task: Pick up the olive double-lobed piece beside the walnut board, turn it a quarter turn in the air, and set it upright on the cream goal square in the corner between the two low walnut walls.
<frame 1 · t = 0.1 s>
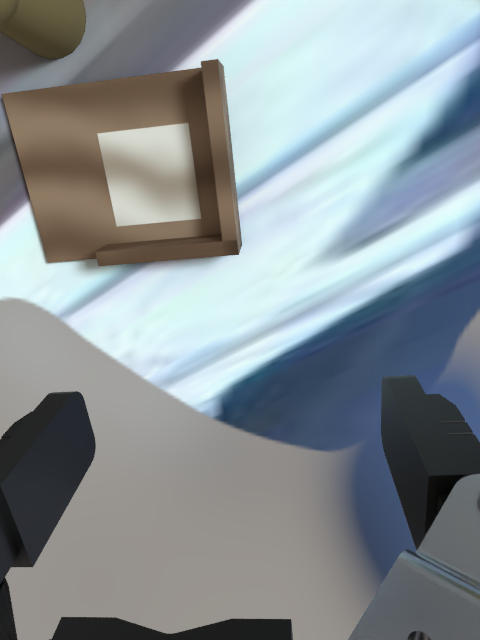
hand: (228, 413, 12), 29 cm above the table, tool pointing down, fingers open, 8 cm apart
olive double-lobed piece: (48, 14, 34), on the table
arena: (128, 172, 38), on the table
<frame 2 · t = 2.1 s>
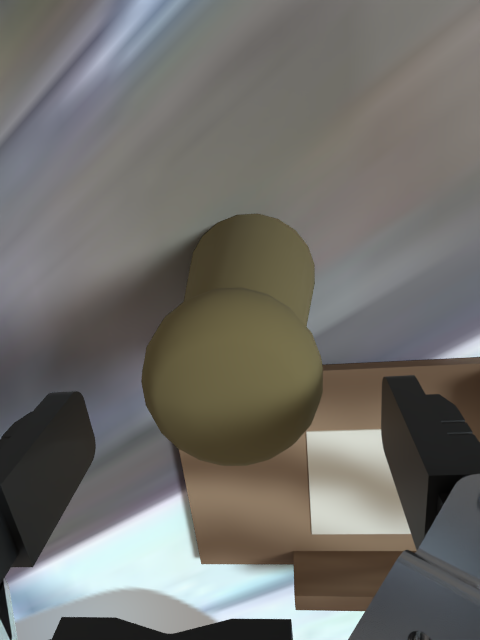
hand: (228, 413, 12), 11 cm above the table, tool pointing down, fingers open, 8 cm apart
olive double-lobed piece: (251, 275, 22), on the table
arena: (339, 470, 26), on the table
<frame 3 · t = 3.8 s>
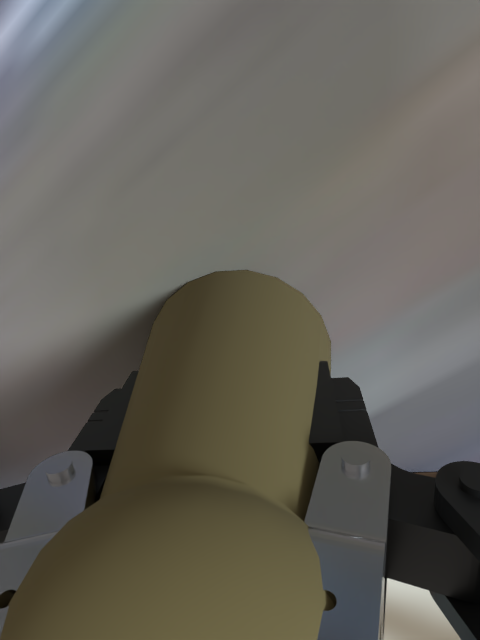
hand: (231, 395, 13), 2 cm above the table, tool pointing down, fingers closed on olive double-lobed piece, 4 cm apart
olive double-lobed piece: (239, 354, 15), on the table, touching gripper
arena: (362, 604, 19), on the table
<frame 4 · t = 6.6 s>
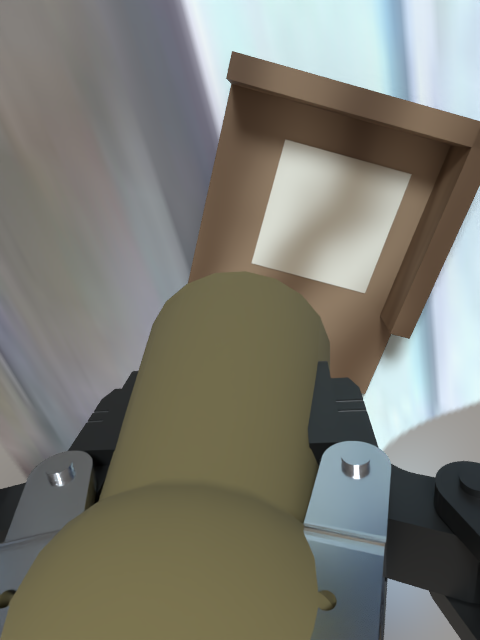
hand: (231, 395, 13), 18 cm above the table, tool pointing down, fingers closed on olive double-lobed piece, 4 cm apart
olive double-lobed piece: (238, 356, 15), point 15 cm above the table, touching gripper
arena: (308, 247, 29), on the table
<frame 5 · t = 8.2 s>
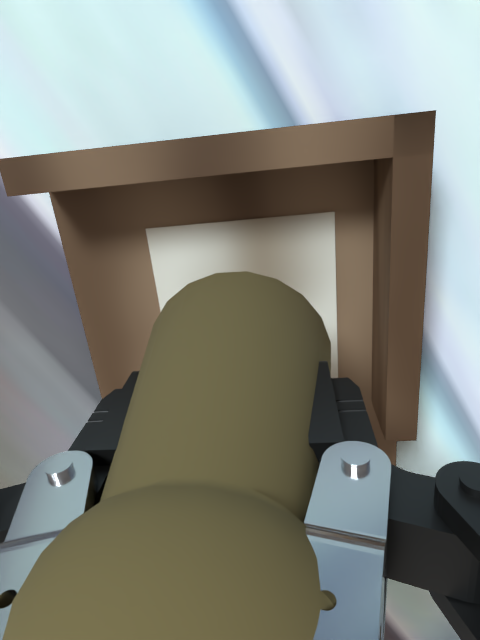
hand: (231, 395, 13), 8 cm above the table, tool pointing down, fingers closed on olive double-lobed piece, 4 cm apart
olive double-lobed piece: (239, 356, 15), point 5 cm above the table, touching gripper
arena: (241, 344, 21), on the table
when the fingers open (4 cm above the table, at t = 9.7 s): olive double-lobed piece drops 1 cm, resting on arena.
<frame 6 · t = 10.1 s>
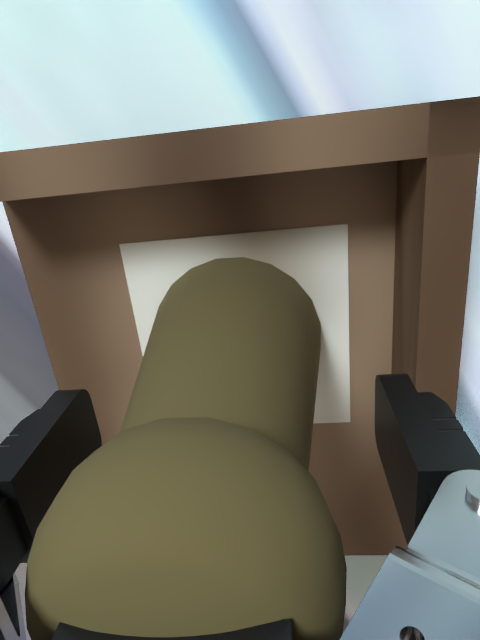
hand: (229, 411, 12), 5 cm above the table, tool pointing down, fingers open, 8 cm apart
olive double-lobed piece: (237, 336, 16), resting on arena
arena: (235, 378, 18), on the table
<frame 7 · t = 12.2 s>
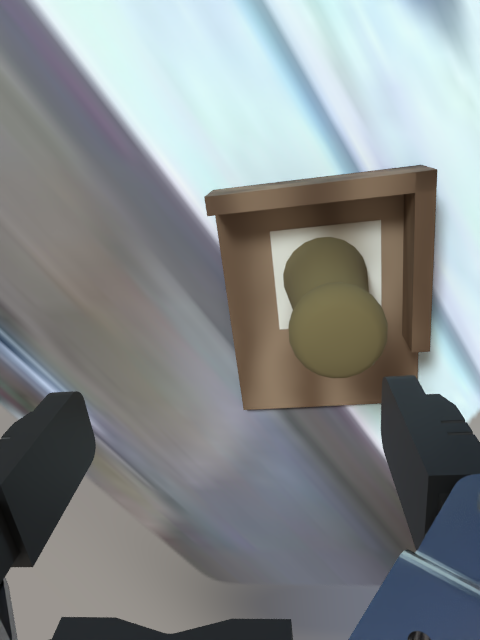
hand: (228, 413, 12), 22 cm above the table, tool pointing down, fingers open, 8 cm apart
olive double-lobed piece: (324, 277, 33), resting on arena
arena: (321, 301, 34), on the table
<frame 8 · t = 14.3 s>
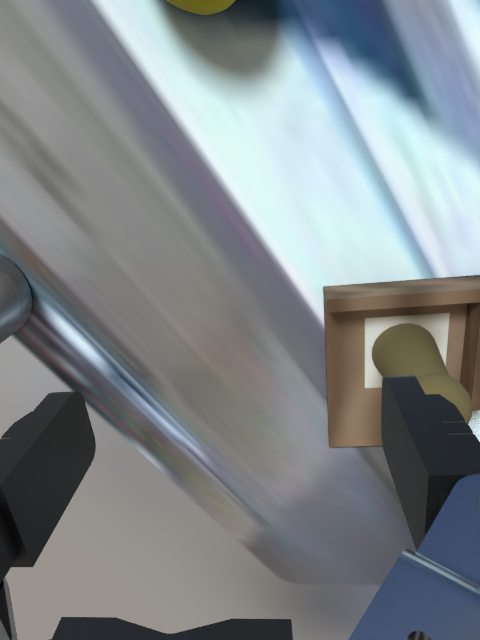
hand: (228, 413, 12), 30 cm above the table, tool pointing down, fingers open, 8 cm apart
olive double-lobed piece: (403, 351, 43), resting on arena
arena: (397, 367, 44), on the table
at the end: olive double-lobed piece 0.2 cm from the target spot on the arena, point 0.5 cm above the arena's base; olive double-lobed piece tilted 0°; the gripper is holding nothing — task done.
